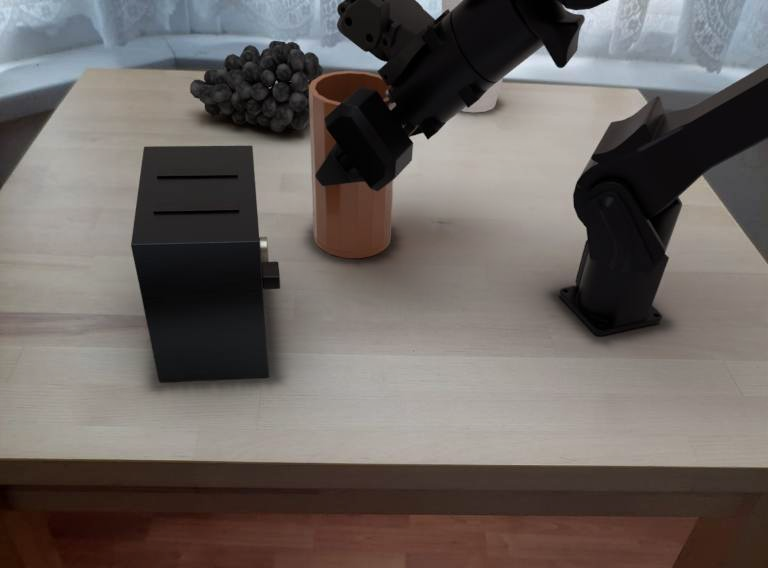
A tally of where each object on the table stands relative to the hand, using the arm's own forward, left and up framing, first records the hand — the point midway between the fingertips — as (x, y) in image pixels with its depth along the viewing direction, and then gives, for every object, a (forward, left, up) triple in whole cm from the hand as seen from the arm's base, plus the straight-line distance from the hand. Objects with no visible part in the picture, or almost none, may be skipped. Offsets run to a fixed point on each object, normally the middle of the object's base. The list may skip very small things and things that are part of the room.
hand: (338, 162), depth 68 cm
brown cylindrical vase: (-1, -1, -7) cm, 7 cm away
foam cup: (+25, -26, -7) cm, 37 cm away
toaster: (-10, +14, -7) cm, 19 cm away
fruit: (+26, 0, -7) cm, 27 cm away
